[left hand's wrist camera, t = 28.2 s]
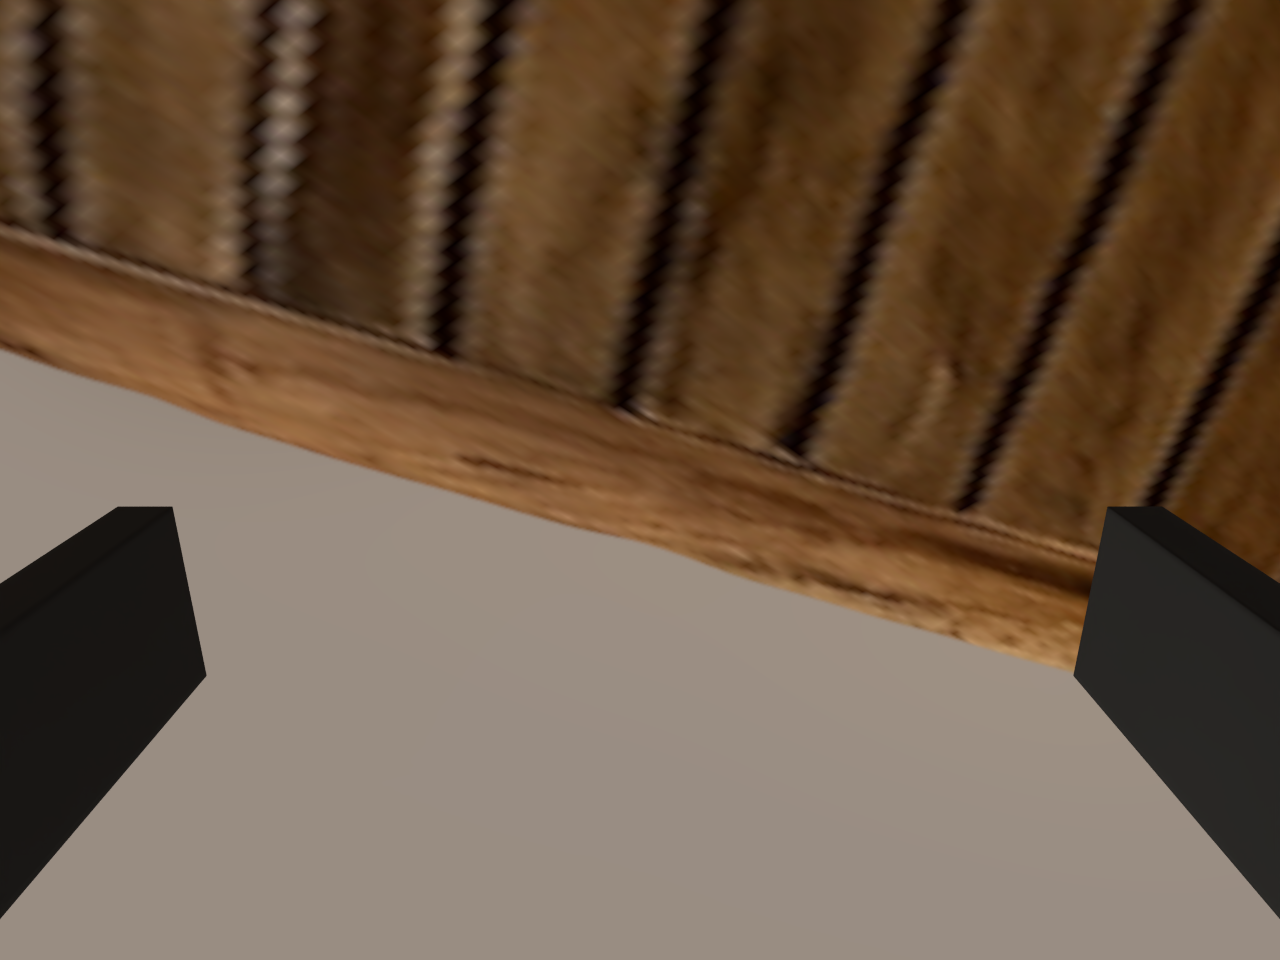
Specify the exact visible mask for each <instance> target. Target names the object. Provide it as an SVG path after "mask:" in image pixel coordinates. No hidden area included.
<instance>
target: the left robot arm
mask: <svg viewBox="0 0 1280 960" xmlns="http://www.w3.org/2000/svg"><path fill="white" fill-rule="evenodd" d="M205 677H206V671H205V666H204V661H203V656H202V651H201V646H200V641H199V636H198V631H197V626H196V621H195V616H194V611H193V606H192V601H191V596H190V591H189V587H188V582H187V577H186V572H185V567H184V562H183V557H182V552H181V547H180V542H179V537H178V532H177V527H176V522H175V517H174V512H173V507H117V508H115V509H113V510H112V511H110V512H109V513H107V514H106V515H104V516H103V517H101V518H100V519H98V520H97V521H95V522H94V523H92V524H91V525H89V526H88V527H86V528H85V529H83V530H81V531H80V532H78V533H77V534H75V535H74V536H72V537H71V538H69V539H68V540H66V541H65V542H63V543H62V544H60V545H58V546H57V547H55V548H54V549H52V550H51V551H49V552H48V553H46V554H45V555H43V556H42V557H40V558H39V559H37V560H36V561H34V562H33V563H31V564H30V565H28V566H26V567H25V568H23V569H22V570H20V571H19V572H17V573H16V574H14V575H13V576H11V577H10V578H8V579H7V580H5V581H4V582H2V583H0V918H1V917H2V916H3V915H4V914H5V913H6V911H7V910H8V909H9V908H10V907H11V905H12V904H13V903H14V902H15V901H16V900H17V898H18V897H19V896H20V895H21V894H22V893H23V891H24V890H25V889H26V888H27V887H28V885H29V884H30V883H31V882H32V881H33V880H34V878H35V877H36V876H37V875H38V874H39V872H40V871H41V870H42V869H43V868H44V867H45V865H46V864H47V863H48V862H49V861H50V859H51V858H52V857H53V856H54V855H55V854H56V852H57V851H58V850H59V849H60V848H61V847H62V845H63V844H64V843H65V842H66V841H67V840H68V838H69V837H70V836H71V835H72V834H73V832H74V831H75V830H76V829H77V828H78V827H79V825H80V824H81V823H82V822H83V821H84V819H85V818H86V817H87V816H88V815H89V814H90V812H91V811H92V810H93V809H94V808H95V806H96V805H97V804H98V803H99V802H100V801H101V799H102V798H103V797H104V796H105V795H106V794H107V792H108V791H109V790H110V789H111V788H112V786H113V785H114V784H115V783H116V782H117V781H118V779H119V778H120V777H121V776H122V775H123V773H124V772H125V771H126V770H127V769H128V768H129V766H130V765H131V764H132V763H133V762H134V761H135V759H136V758H137V757H138V756H139V755H140V753H141V752H142V751H143V750H144V749H145V748H146V746H147V745H148V744H149V743H150V742H151V741H152V739H153V738H154V737H155V736H156V735H157V733H158V732H159V731H160V730H161V729H162V728H163V726H164V725H165V724H166V723H167V722H168V720H169V719H170V718H171V717H172V716H173V715H174V713H175V712H176V711H177V710H178V709H179V708H180V706H181V705H182V704H183V703H184V702H185V700H186V699H187V698H188V697H189V696H190V695H191V693H192V692H193V691H194V690H195V689H196V688H197V686H198V685H199V684H200V683H201V682H202V680H203V679H204V678H205ZM1074 677H1075V678H1076V679H1077V680H1078V682H1079V683H1080V684H1081V685H1082V686H1083V688H1084V689H1085V690H1086V691H1087V692H1088V693H1089V695H1090V696H1091V697H1092V698H1093V699H1094V700H1095V702H1096V703H1097V704H1098V705H1099V706H1100V707H1101V709H1102V710H1103V711H1104V712H1105V713H1106V715H1107V716H1108V717H1109V718H1110V719H1111V720H1112V722H1113V723H1114V724H1115V725H1116V726H1117V728H1118V729H1119V730H1120V731H1121V732H1122V733H1123V735H1124V736H1125V737H1126V738H1127V739H1128V741H1129V742H1130V743H1131V744H1132V745H1133V746H1134V748H1135V749H1136V750H1137V751H1138V752H1139V753H1140V755H1141V756H1142V757H1143V758H1144V759H1145V761H1146V762H1147V763H1148V764H1149V765H1150V766H1151V768H1152V769H1153V770H1154V771H1155V772H1156V774H1157V775H1158V776H1159V777H1160V778H1161V779H1162V781H1163V782H1164V783H1165V784H1166V785H1167V786H1168V788H1169V789H1170V790H1171V791H1172V792H1173V794H1174V795H1175V796H1176V797H1177V798H1178V799H1179V801H1180V802H1181V803H1182V804H1183V805H1184V806H1185V808H1186V809H1187V810H1188V811H1189V812H1190V814H1191V815H1192V816H1193V817H1194V818H1195V819H1196V821H1197V822H1198V823H1199V824H1200V825H1201V827H1202V828H1203V829H1204V830H1205V831H1206V832H1207V834H1208V835H1209V836H1210V837H1211V838H1212V840H1213V841H1214V842H1215V843H1216V844H1217V845H1218V847H1219V848H1220V849H1221V850H1222V851H1223V852H1224V854H1225V855H1226V856H1227V857H1228V858H1229V860H1230V861H1231V862H1232V863H1233V864H1234V865H1235V867H1236V868H1237V869H1238V870H1239V871H1240V873H1241V874H1242V875H1243V876H1244V877H1245V878H1246V880H1247V881H1248V882H1249V883H1250V884H1251V885H1252V887H1253V888H1254V889H1255V890H1256V891H1257V893H1258V894H1259V895H1260V896H1261V897H1262V898H1263V900H1264V901H1265V902H1266V903H1267V904H1268V905H1269V907H1270V908H1271V909H1272V910H1273V911H1274V912H1275V914H1276V915H1277V916H1278V917H1279V918H1280V583H1278V582H1277V581H1275V580H1273V579H1272V578H1270V577H1269V576H1267V575H1266V574H1264V573H1263V572H1261V571H1260V570H1258V569H1257V568H1255V567H1254V566H1252V565H1251V564H1249V563H1247V562H1246V561H1244V560H1243V559H1241V558H1240V557H1238V556H1237V555H1235V554H1234V553H1232V552H1231V551H1229V550H1228V549H1226V548H1225V547H1223V546H1222V545H1220V544H1218V543H1217V542H1215V541H1214V540H1212V539H1211V538H1209V537H1208V536H1206V535H1205V534H1203V533H1202V532H1200V531H1199V530H1197V529H1196V528H1194V527H1192V526H1191V525H1189V524H1188V523H1186V522H1185V521H1183V520H1182V519H1180V518H1179V517H1177V516H1176V515H1174V514H1173V513H1171V512H1170V511H1168V510H1167V509H1165V508H1163V507H1107V512H1106V517H1105V522H1104V527H1103V532H1102V537H1101V542H1100V547H1099V552H1098V557H1097V562H1096V567H1095V572H1094V577H1093V581H1092V586H1091V591H1090V596H1089V601H1088V606H1087V611H1086V616H1085V621H1084V626H1083V631H1082V636H1081V641H1080V646H1079V651H1078V656H1077V661H1076V666H1075V671H1074Z"/></svg>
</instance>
